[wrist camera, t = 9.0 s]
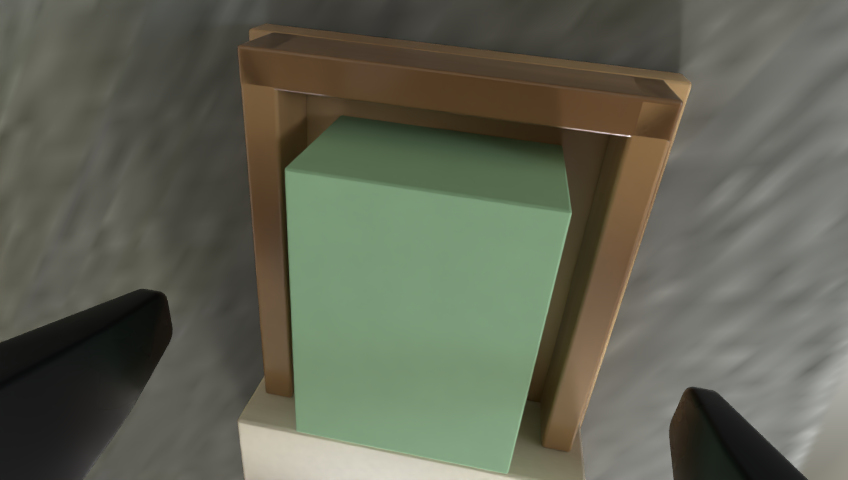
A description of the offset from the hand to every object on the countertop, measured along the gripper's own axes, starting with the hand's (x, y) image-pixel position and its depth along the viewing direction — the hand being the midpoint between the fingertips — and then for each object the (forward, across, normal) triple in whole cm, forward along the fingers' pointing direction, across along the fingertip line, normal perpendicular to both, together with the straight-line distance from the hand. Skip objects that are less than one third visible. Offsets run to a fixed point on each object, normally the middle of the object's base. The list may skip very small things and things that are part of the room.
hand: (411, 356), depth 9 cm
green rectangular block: (+4, 0, 0) cm, 4 cm away
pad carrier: (+4, 0, +4) cm, 6 cm away
